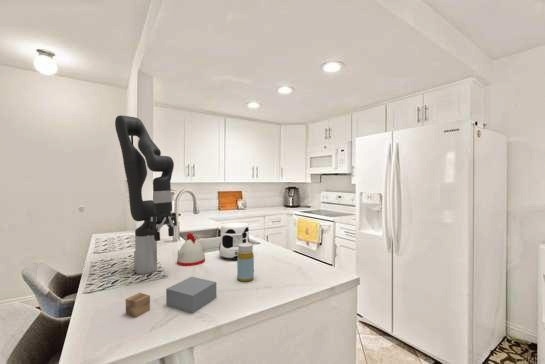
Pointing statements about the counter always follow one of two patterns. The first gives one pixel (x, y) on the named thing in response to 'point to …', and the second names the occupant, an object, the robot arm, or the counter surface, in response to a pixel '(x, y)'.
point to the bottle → (245, 262)
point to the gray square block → (191, 294)
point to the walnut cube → (137, 304)
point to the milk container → (233, 238)
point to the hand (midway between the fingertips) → (164, 238)
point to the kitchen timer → (190, 253)
